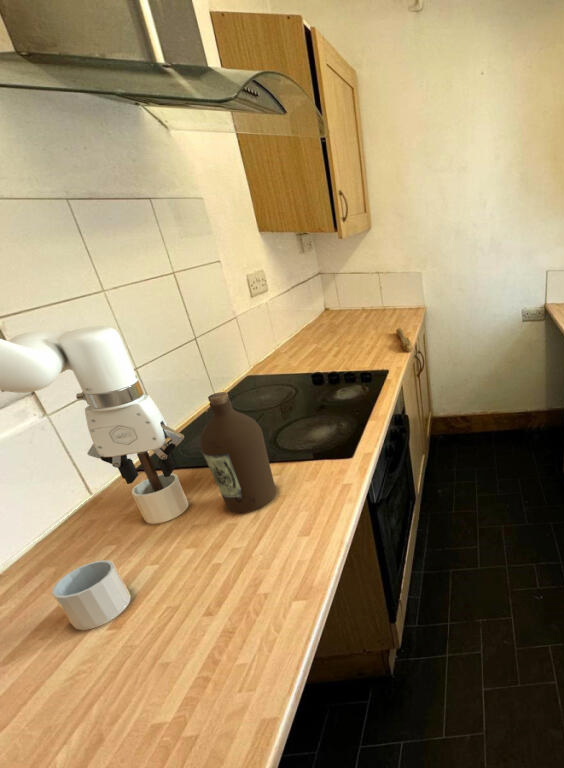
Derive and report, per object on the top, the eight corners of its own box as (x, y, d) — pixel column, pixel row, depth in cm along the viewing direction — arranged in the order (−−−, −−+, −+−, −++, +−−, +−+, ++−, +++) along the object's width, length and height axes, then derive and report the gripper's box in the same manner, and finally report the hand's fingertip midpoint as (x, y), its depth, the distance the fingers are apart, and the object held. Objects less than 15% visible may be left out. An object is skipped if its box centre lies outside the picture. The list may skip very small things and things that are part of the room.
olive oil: (255, 480, 96) (223, 381, 86) (290, 489, 93) (261, 387, 83) (211, 509, 87) (169, 403, 77) (249, 521, 84) (210, 411, 74)
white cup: (138, 527, 82) (124, 499, 80) (153, 504, 89) (141, 477, 86) (181, 518, 85) (170, 490, 82) (193, 496, 91) (182, 470, 88)
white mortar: (63, 636, 62) (40, 603, 59) (87, 598, 68) (68, 567, 65) (119, 621, 64) (100, 589, 61) (138, 586, 70) (121, 555, 67)
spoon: (155, 514, 85) (128, 456, 80) (158, 508, 87) (132, 451, 81) (175, 509, 86) (151, 453, 81) (178, 504, 88) (154, 448, 82)
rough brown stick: (401, 327, 201) (412, 345, 175) (402, 333, 202) (413, 352, 177) (395, 328, 200) (405, 346, 174) (396, 334, 201) (405, 353, 176)
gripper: (42, 411, 70) (88, 497, 77) (163, 395, 75) (196, 477, 83) (68, 394, 76) (108, 475, 84) (178, 380, 82) (207, 457, 89)
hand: (151, 475), depth 83 cm, fingers open, 5 cm apart
